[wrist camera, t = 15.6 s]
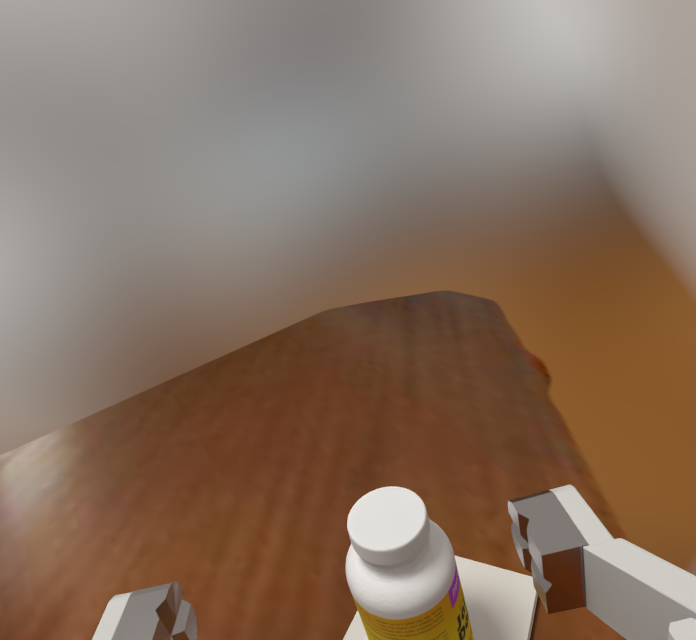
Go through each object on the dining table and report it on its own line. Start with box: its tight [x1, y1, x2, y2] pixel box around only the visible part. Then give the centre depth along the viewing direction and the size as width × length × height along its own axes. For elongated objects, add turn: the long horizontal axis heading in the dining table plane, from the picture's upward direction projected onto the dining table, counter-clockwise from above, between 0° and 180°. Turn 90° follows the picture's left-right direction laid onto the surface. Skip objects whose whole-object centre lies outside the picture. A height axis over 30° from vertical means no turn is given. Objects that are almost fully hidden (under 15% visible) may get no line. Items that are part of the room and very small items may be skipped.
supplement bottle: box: [346, 487, 474, 640], centre depth 29 cm, size 7×7×13 cm
